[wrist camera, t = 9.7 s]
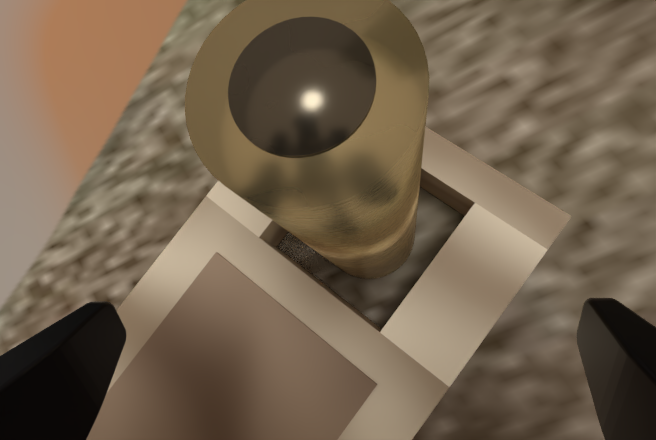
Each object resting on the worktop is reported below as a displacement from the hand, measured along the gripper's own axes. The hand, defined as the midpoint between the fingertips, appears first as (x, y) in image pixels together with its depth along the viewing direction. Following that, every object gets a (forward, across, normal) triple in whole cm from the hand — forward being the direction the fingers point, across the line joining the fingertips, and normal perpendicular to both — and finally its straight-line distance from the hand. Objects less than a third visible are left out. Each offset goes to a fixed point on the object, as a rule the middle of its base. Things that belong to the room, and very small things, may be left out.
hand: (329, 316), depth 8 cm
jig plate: (+7, +4, +8) cm, 11 cm away
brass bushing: (+10, 0, +5) cm, 11 cm away
